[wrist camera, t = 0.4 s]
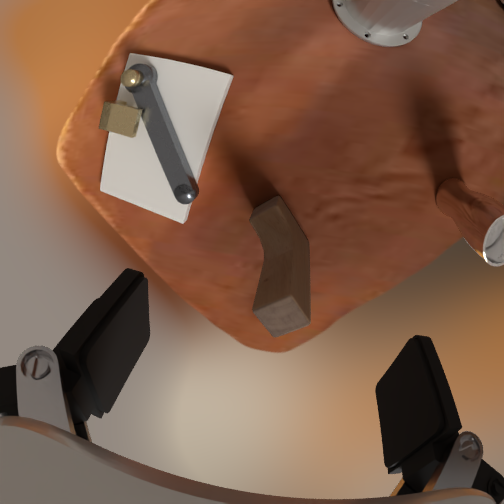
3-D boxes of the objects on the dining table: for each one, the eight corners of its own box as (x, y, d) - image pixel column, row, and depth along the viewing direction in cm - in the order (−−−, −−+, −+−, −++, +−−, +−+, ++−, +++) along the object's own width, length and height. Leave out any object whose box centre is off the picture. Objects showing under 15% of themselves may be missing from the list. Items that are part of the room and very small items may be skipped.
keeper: (128, 67, 33) (110, 66, 29) (162, 74, 33) (146, 72, 29) (113, 124, 37) (95, 129, 33) (145, 134, 38) (128, 138, 34)
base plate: (135, 54, 33) (129, 53, 32) (233, 75, 33) (231, 74, 32) (104, 187, 44) (99, 190, 43) (186, 219, 45) (183, 223, 44)
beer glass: (427, 187, 36) (476, 229, 23) (461, 167, 33) (519, 202, 20) (441, 225, 38) (485, 277, 25) (473, 206, 36) (525, 251, 23)
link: (127, 73, 33) (119, 73, 31) (152, 59, 32) (145, 57, 30) (180, 203, 42) (175, 208, 40) (206, 194, 41) (202, 199, 39)
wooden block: (252, 208, 42) (223, 277, 27) (279, 193, 41) (264, 256, 25) (284, 256, 45) (273, 339, 30) (310, 243, 44) (312, 325, 28)
